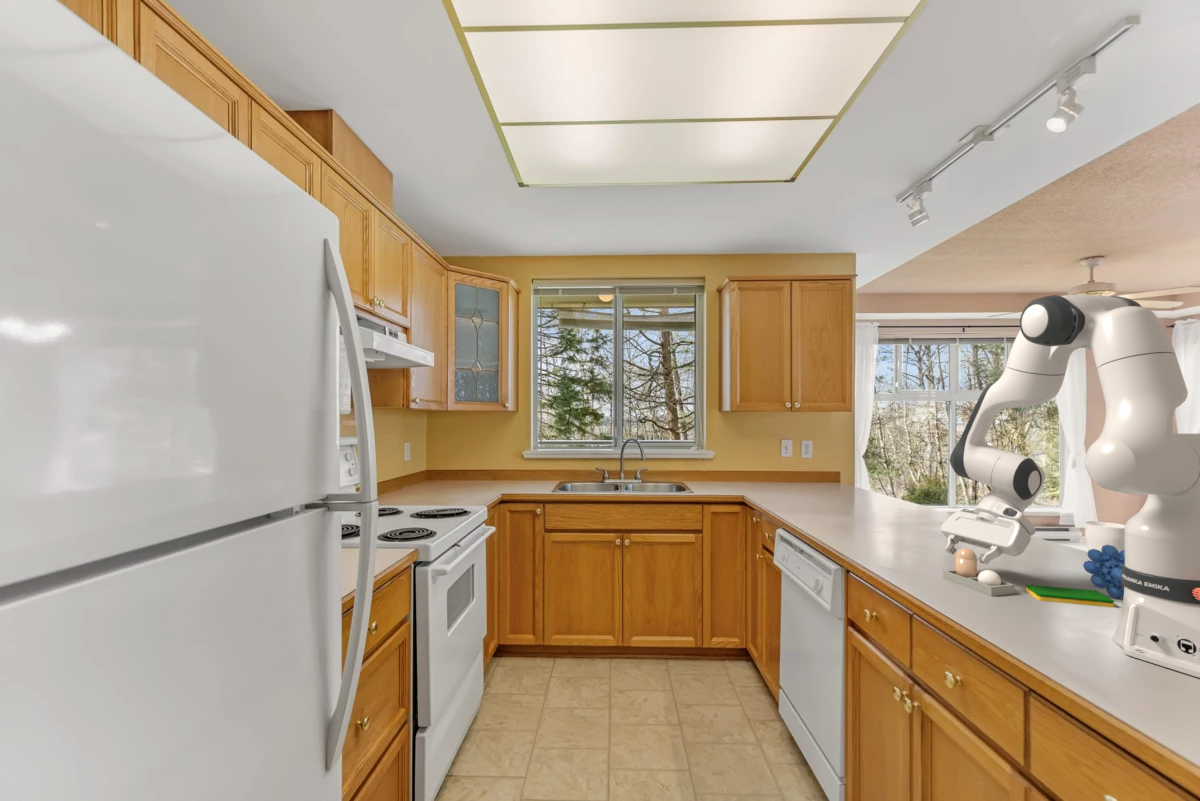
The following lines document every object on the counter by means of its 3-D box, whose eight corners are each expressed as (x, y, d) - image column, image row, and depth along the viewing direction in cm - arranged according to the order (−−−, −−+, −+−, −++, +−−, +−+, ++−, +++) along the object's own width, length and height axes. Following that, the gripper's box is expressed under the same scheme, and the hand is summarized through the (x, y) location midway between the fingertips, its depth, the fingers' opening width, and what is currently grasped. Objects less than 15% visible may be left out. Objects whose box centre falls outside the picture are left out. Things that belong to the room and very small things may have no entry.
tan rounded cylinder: (981, 584, 135) (981, 550, 135) (966, 585, 134) (967, 551, 134) (965, 578, 140) (965, 546, 140) (951, 579, 138) (951, 546, 139)
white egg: (1006, 592, 129) (1006, 572, 129) (990, 594, 128) (990, 574, 128) (988, 586, 134) (988, 567, 134) (972, 587, 133) (972, 568, 133)
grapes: (1087, 598, 126) (1086, 546, 127) (1081, 590, 132) (1081, 540, 132) (1157, 608, 120) (1157, 553, 120) (1148, 599, 126) (1148, 546, 126)
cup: (1088, 562, 156) (1088, 519, 156) (1133, 570, 149) (1132, 525, 149) (1081, 568, 150) (1081, 524, 150) (1127, 576, 143) (1127, 529, 143)
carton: (1014, 595, 128) (1014, 584, 128) (991, 598, 127) (991, 587, 127) (965, 578, 141) (965, 568, 141) (943, 580, 139) (943, 570, 139)
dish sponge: (1115, 611, 120) (1115, 600, 120) (1038, 604, 124) (1038, 593, 124) (1097, 600, 126) (1097, 590, 126) (1025, 594, 131) (1025, 584, 131)
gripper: (953, 500, 149) (923, 538, 146) (1028, 514, 129) (995, 559, 127) (966, 516, 150) (937, 554, 147) (1043, 532, 130) (1011, 577, 128)
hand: (964, 557), depth 137 cm, fingers open, 8 cm apart
